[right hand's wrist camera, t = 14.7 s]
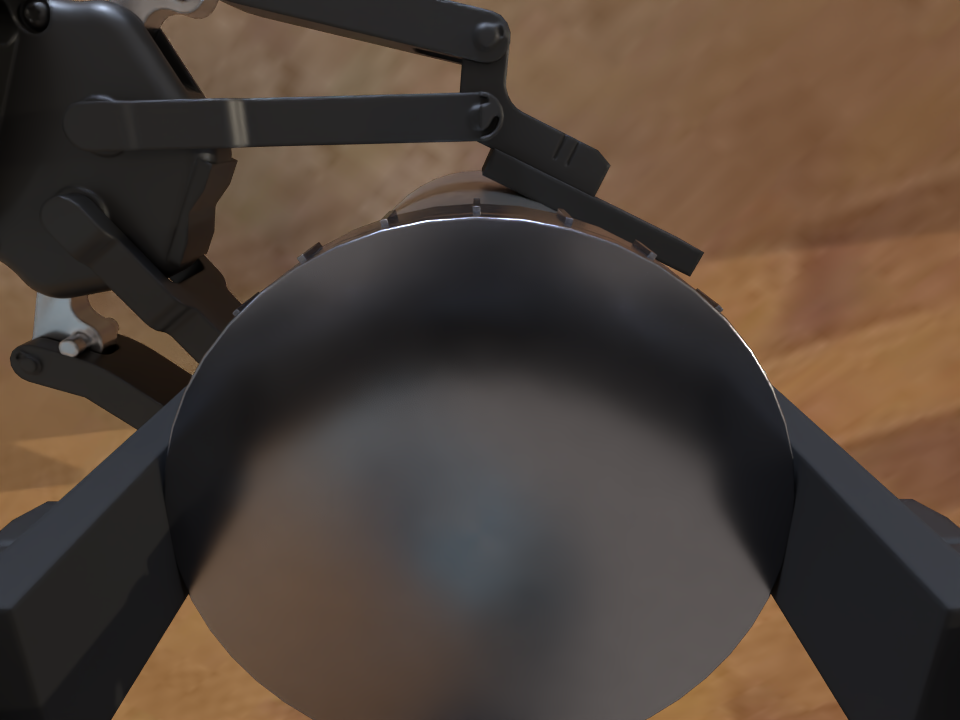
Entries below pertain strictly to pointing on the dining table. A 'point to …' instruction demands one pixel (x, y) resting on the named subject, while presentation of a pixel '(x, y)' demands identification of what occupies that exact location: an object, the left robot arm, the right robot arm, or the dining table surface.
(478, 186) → the jar
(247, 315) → the lid
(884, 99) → the dining table surface
